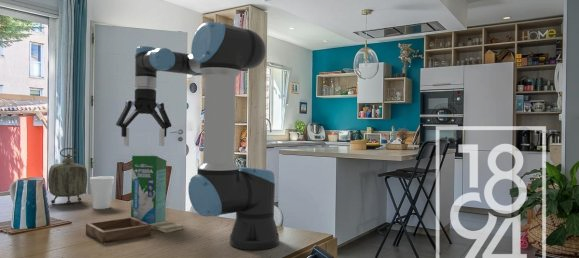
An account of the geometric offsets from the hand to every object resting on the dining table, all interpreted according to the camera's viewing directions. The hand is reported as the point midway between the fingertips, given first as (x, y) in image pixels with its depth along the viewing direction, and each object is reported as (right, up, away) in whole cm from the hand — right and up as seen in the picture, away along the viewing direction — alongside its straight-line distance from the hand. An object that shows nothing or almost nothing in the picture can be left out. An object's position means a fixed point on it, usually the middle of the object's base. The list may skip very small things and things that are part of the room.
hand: (144, 145), depth 150 cm
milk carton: (+2, -28, -3) cm, 28 cm away
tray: (-2, -28, -19) cm, 34 cm away
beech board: (+11, -28, -10) cm, 32 cm away
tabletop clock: (-46, -27, +31) cm, 62 cm away
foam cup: (-27, -28, +23) cm, 45 cm away
